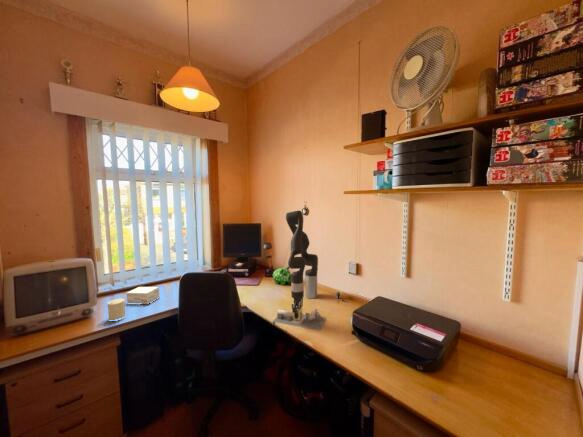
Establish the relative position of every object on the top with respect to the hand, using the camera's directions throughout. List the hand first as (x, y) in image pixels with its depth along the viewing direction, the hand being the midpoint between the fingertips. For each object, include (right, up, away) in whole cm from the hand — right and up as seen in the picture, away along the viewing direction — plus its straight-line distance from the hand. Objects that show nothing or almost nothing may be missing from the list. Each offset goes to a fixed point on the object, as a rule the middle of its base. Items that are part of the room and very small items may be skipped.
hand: (297, 316), depth 147 cm
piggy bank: (-12, +1, +70) cm, 71 cm away
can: (-117, -5, +9) cm, 118 cm away
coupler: (0, -1, 0) cm, 1 cm away
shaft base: (+1, -4, +1) cm, 4 cm away
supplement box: (-116, -4, +35) cm, 122 cm away
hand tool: (+34, -4, -8) cm, 36 cm away
